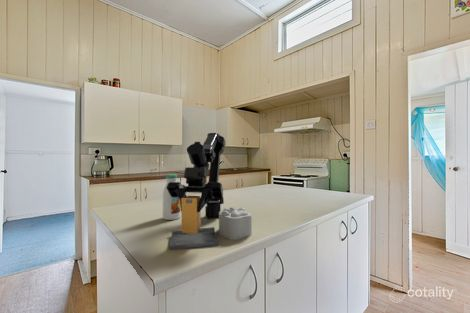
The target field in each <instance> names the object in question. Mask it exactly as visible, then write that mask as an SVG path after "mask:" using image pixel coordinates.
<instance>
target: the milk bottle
mask: <svg viewBox="0 0 470 313" xmlns="http://www.w3.org/2000/svg"><path fill="white" fill-rule="evenodd" d="M165 179H166V183H165V186H164V188H163V191H162V218H163V220H165V221H174V220H178V219H180V218H181V206H180V199H179V198H178V197H171V196H170V194H169V192H168V190H167V188H166V187H167V185H168V183H169V182H177V179H178V175H177V173H176V174H175V173H174V174H173V173H171V174H166V176H165Z"/></svg>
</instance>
